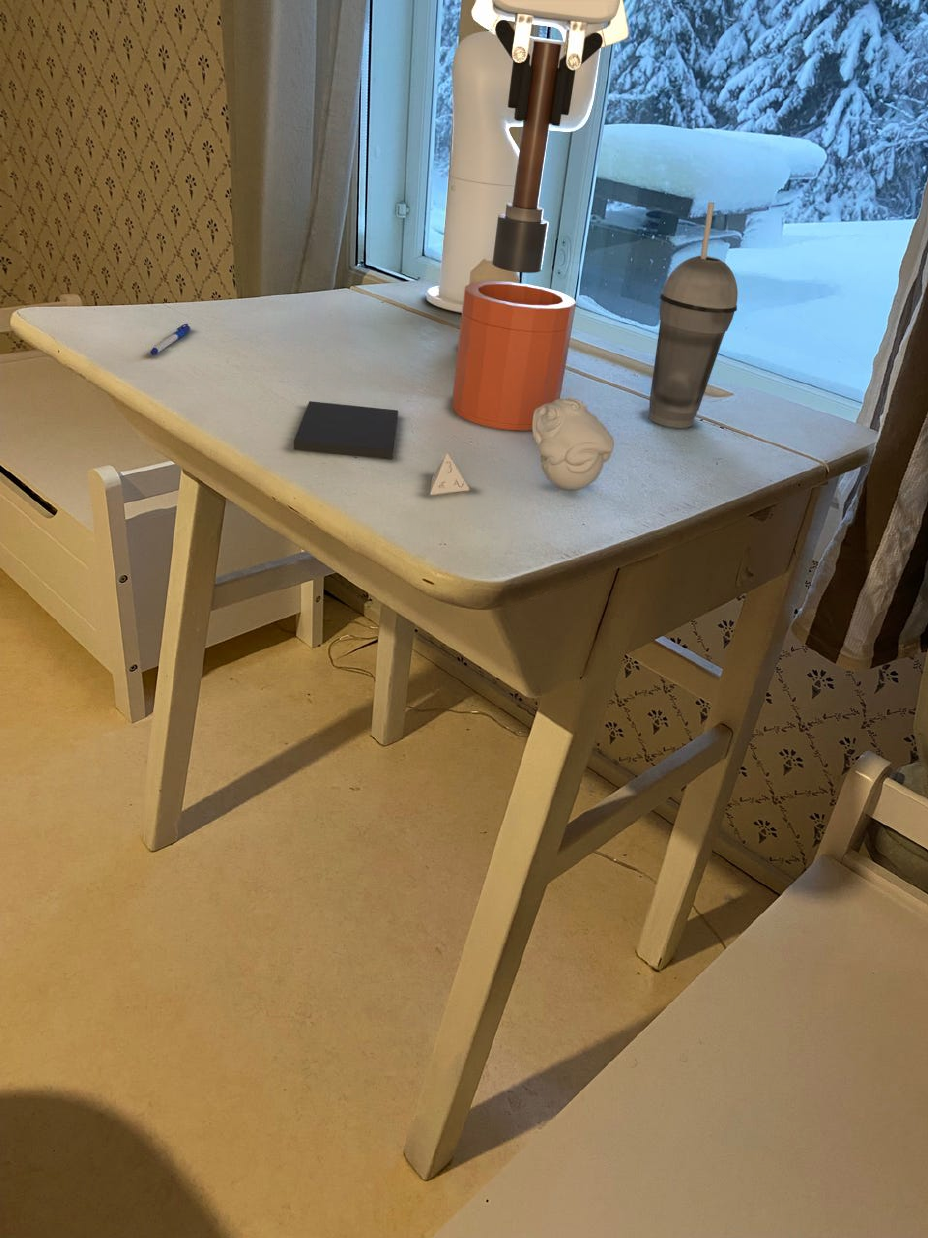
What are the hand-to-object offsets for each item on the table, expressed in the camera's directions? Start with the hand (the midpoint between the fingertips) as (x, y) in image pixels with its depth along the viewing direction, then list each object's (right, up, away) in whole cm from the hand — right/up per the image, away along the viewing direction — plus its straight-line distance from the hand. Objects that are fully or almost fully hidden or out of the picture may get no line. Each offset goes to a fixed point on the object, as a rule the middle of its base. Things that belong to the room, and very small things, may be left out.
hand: (536, 119), depth 76 cm
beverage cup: (+15, -21, +17) cm, 31 cm away
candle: (-3, -10, +31) cm, 33 cm away
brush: (-1, -10, +6) cm, 12 cm away
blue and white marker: (-36, -13, +20) cm, 43 cm away
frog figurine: (+2, -30, -1) cm, 31 cm away
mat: (-16, -25, +3) cm, 30 cm away
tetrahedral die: (-8, -31, -4) cm, 32 cm away
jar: (-2, -21, +13) cm, 25 cm away
